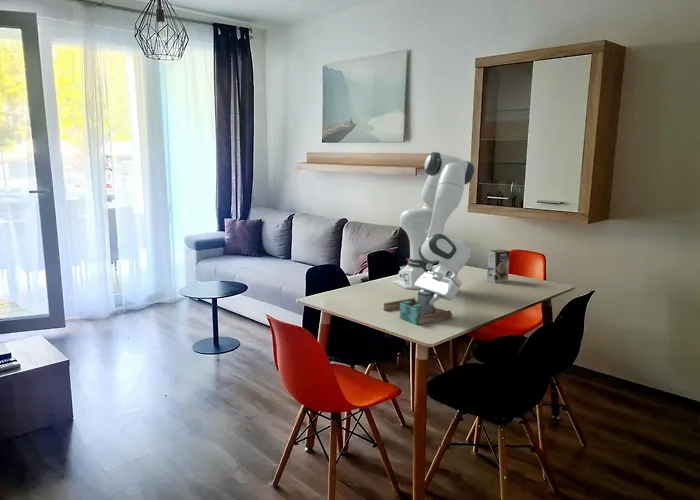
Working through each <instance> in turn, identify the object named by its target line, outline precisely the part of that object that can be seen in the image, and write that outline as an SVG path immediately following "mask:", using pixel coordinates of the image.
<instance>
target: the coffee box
mask: <svg viewBox="0 0 700 500" xmlns="http://www.w3.org/2000/svg"><path fill="white" fill-rule="evenodd" d="M510 253H511V252H510V250H507V249H492V250H491V249H490V250H488V257H487V258H488V259H487V273H486V274H487V275H486V281H487V282H490V283H493V284H497V283H505V282H508V281H509V271H510V269H509V268H510Z"/></svg>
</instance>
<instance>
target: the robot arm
mask: <svg viewBox="0 0 700 500" xmlns="http://www.w3.org/2000/svg"><path fill="white" fill-rule="evenodd" d="M424 172H425V173H426V174H427V175H428V176H427V178H426V180H425V182H424V185H423V188H422V190H421V192H420V197H421V200H422V201H423V206H422V207H420V208H419V207H418V208H417V207H416V208H415V207H414V208H409V209H406V210H404V211H403V212H401V214H400V216H399V221H398V222H399V225H400V227H401V229H402V230H404V232H405V233H406V234H407V237H408V240H409V257H407V259H406V262H407V265H405V266H404V267H403V268H402V269H400V270H399V271H398V274H397V276H398V277H397V279H393V280H392V281H393V283H394V284H396V285H398V286H400V287H402V288H404V289H407V290H410V289H411V290H417V291H418V292H420V291H429V292H432V293H434V297H433V298H432V299H429V300H428V302H427V303H428V304H429V305H433V306H434V303H436V302H438V301H439V300H440V299H443V300H446V301H451V300H453V299H454V298H455V296H456V295H457V293H458V291H459V289H460V288H461V287H462V285H463V282H462V281H461V280H460V279H459V277H458V275H459V273H460V271H461V270H462V269H463V268H464V267H465V265H466V264H467V262H468V260H469V259H470V257H471V254H472V249H471V247H470V246H469V244H468V243H466V242H465V241H464V240H462V239H454V238H451V237H448V236H446V235H445V234H443V232H444V229H445V225H446V223H447V221H448V218H449V217H450V216H451V215H452V214H453V212H454V211H455V210H456V209H457V208H458V206H459V205H460V203H461V201H462V198H463V194H464V189H465V185H468V184H469V183H470V182H471V181H472V179H473V178H474V175H475V165H474V163H472V162H470V161H468V160H464V159H462V158H460V157H458V156H453V155H450V154H449V155H448V154H445V153H440V152H438V151H435V152H434V151H433V152H431V153H429V154H428V155H427V157H426V158H425V161H424ZM436 263H438V264H437V265H436V266H435V268H433V267H434V264H436Z"/></svg>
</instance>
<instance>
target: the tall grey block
mask: <svg viewBox="0 0 700 500" xmlns="http://www.w3.org/2000/svg"><path fill="white" fill-rule="evenodd" d="M433 297H434V293H432V292H429V291H418V292H417V301H418V304H419V305H422V308H417V309H418V316H424V315H429V314H434V312H433V306H434V304H433V305H429V304H428V303H427V302H428V300H429V299H432V298H433Z"/></svg>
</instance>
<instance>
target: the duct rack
mask: <svg viewBox="0 0 700 500" xmlns="http://www.w3.org/2000/svg"><path fill="white" fill-rule="evenodd" d="M417 308H422V305H419V304H418V299H416V298H415V297H411V298H405V299H401V300H394V301H389V302H388V301H387V302H383V311H384V312H385V311H391V310H395V309H397V310H398V309H399V319H402V320H404V321H405V322H409V323H411V324H413V325H419V326H421V325H427V324H430V323H434V322H439V321H443V320H449V319H452V318H453V312H451V310H445V309H442V308H440V307H437V306H434V305H433V314H429V315H424V316H422V315H419V314H418V309H417Z"/></svg>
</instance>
